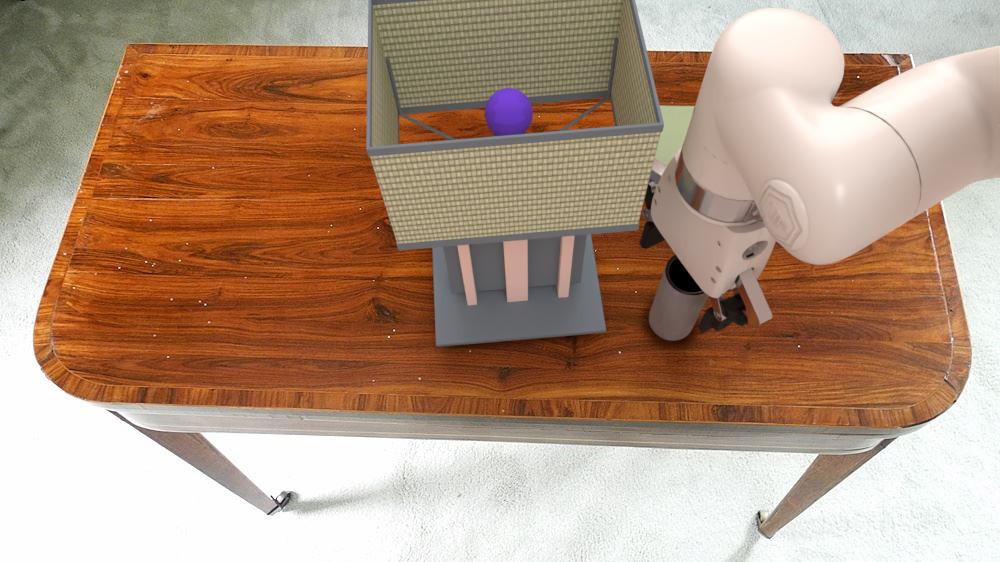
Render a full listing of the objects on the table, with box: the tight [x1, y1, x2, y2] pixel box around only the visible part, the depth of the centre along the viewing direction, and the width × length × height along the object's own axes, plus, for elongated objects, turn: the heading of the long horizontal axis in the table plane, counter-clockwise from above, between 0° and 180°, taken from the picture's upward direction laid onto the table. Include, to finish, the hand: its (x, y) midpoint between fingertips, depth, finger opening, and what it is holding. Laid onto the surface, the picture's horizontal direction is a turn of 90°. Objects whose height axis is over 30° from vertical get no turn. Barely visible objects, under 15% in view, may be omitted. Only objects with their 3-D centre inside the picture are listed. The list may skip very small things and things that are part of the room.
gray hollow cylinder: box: [648, 253, 709, 342], centre depth 69 cm, size 4×4×10 cm
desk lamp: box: [365, 0, 664, 348], centre depth 62 cm, size 18×14×33 cm
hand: (683, 281), depth 67 cm, fingers open, 9 cm apart
